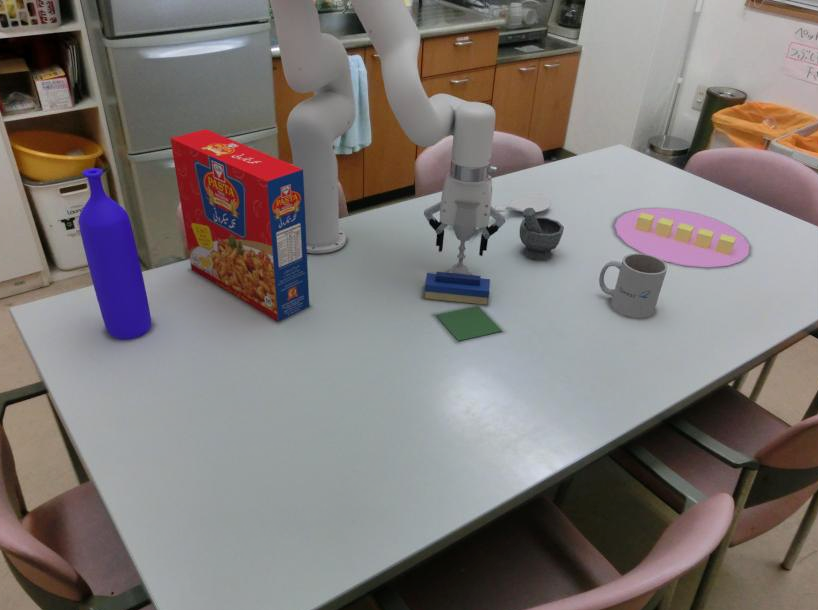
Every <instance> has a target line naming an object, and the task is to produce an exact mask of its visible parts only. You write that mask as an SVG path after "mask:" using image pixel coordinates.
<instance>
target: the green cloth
mask: <svg viewBox="0 0 818 610" xmlns="http://www.w3.org/2000/svg"><path fill="white" fill-rule="evenodd" d="M435 316H436V318H437V319H438V320H439V321H440V322H441V323H442V324H443V326H444V327H445V328H446V329H447V330H448V331H449V333H450V334H451V335H452V336H453V337H454V338H455V340H456V341H457V342H462V341H466V340H467V341H468V340H470V339H475V338H479V337H480V338H481V337H483V336H484V337H485V336H488V335H492V334H497V333H502V332H503V330H502V329H501V328H500V327H499V326H498V324H496V323H495V322H494V321H493V320H492V319H491V318H490V317H489V316H488V315H487V313H486V312H485V311H483V309H482V308H480V306H479V305H477V306H472V307H467V308H462V309H457V310H452V311H447V312H443V313H439V314H438V313H437V314H435Z"/></svg>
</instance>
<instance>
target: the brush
mask: <svg viewBox="0 0 818 610" xmlns="http://www.w3.org/2000/svg"><path fill="white" fill-rule="evenodd" d="M435 272H436V273H433V272H426V277H425V282H424V299H428V300H438V301H447V302H454V303H455V302H456V303H466V304H476V305H485V306H486V305H487V304H488V298H489V296H490V285H491V284H490V283H491V279H490V278H483V277H482V276H481V275H477V274H469V275H466V274H456V273H449V272H444V271H435Z"/></svg>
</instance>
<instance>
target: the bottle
mask: <svg viewBox="0 0 818 610" xmlns="http://www.w3.org/2000/svg"><path fill="white" fill-rule="evenodd" d="M81 174H82V176H83V177H85V178H86V179H87V182H88V186H89V192H90V195H89V198H88V200H87V201H86V202H85V204H84V206H83V207H82V209H81V211H80V213H79V216H78V227H79V233H80V237H81V241H82V245H83V250H84V255H85V257H86V263H87V265H88V269H89V274H90V277H91V281H92V285H93V288H94V292H95V296H96V299H97V303H98V307H99V310H100V314H101V318H102V320H103V324H104V327H105V329H106V331H107V333H108V335H110V336H111V337H112V338H114V339H119V340H132V339H136V338H140V337H142V336H144V335H145V334H147V333H148V332H149V331H150V329H151V327H152V316H151V310H150V305H149V300H148V294H147V289H146V285H145V280H144V275H143V270H142V265H141V261H140V257H139V256H140V255H139V252H138V247H137V243H136V239H135V234H134V231H133V227H132V222H131V220H130V217H129V214H128V212H127V210H125V209H124V207H123V206H122V205H120V204H119V203H118V202H116V200H114V199H112V198H111V197H110V196H108V195H107V193H106V192H105V190H104V189H105V188H104V187H103V182H102V176H103V175H104V170H102V169H101V168H96V167H94V168H93V167H92V168H87V169H84V170H83V171H82V173H81Z"/></svg>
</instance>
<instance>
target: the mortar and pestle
mask: <svg viewBox="0 0 818 610" xmlns="http://www.w3.org/2000/svg"><path fill="white" fill-rule="evenodd" d="M521 213H522V217H523V219H522V220H521V223H520V225H519V239H520V241H521V243H522V244H523V245H524V249H523V254H524V255H525V256H526V257H527V258H530V259H533V260H541V261H543V260H547V259H550V257H551V254H552V250H555V249H556V248H557V247H558V245H559V244H560V241H561V240H562V236H563V234H564V229H565V226H563V224H562V223H560V221H558V220H556V219H552V218H550V217H545V216H544V217H543V216H536V213H535V210H534V209H533V208H526V209H525V210H524V211H523V212H521Z"/></svg>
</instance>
